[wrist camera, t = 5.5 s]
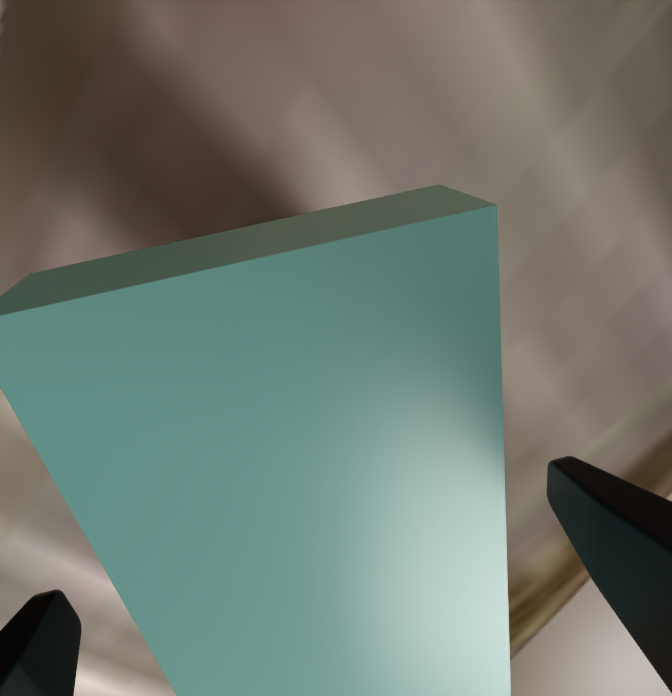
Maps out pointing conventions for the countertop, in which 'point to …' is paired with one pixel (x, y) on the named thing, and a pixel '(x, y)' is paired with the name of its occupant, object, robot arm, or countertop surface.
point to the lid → (287, 445)
